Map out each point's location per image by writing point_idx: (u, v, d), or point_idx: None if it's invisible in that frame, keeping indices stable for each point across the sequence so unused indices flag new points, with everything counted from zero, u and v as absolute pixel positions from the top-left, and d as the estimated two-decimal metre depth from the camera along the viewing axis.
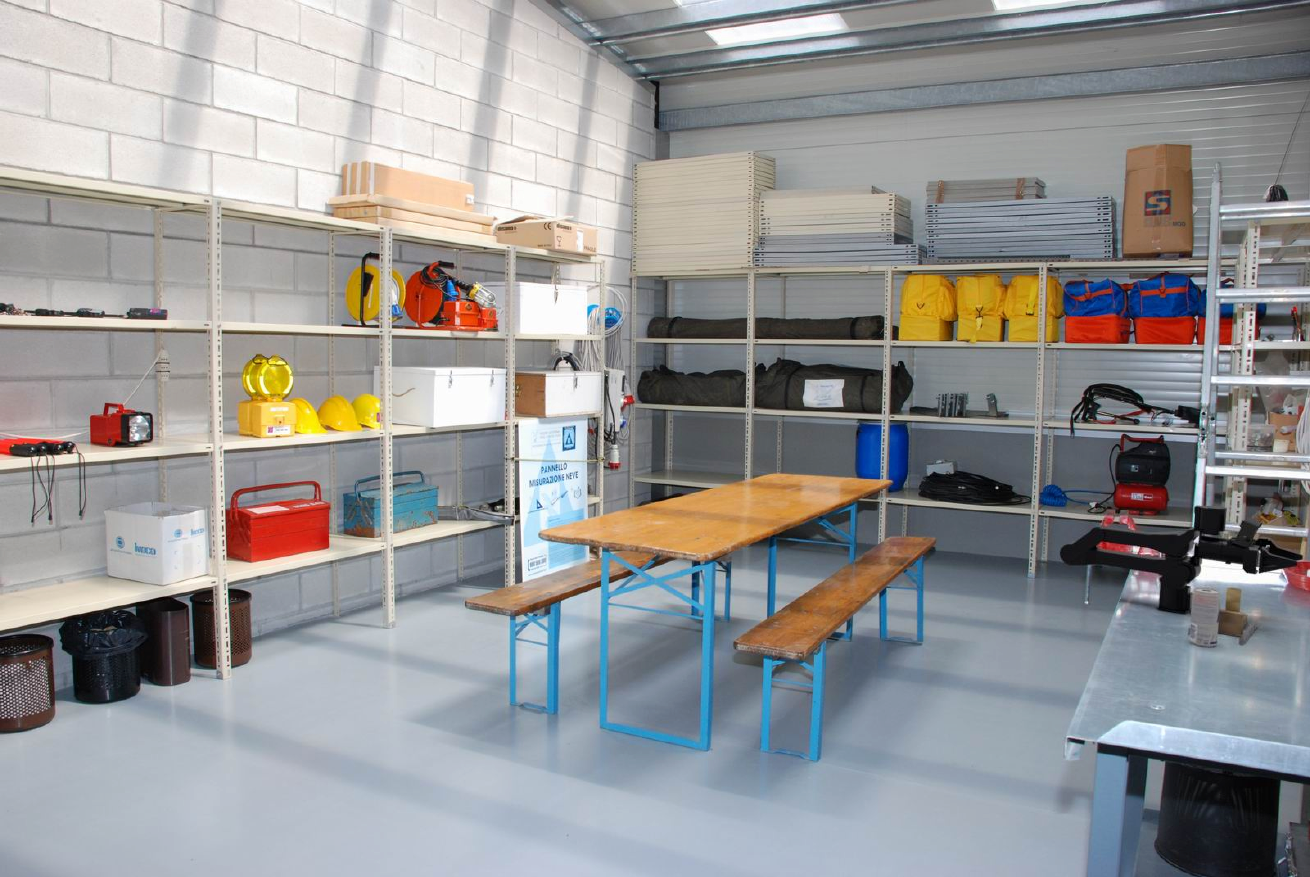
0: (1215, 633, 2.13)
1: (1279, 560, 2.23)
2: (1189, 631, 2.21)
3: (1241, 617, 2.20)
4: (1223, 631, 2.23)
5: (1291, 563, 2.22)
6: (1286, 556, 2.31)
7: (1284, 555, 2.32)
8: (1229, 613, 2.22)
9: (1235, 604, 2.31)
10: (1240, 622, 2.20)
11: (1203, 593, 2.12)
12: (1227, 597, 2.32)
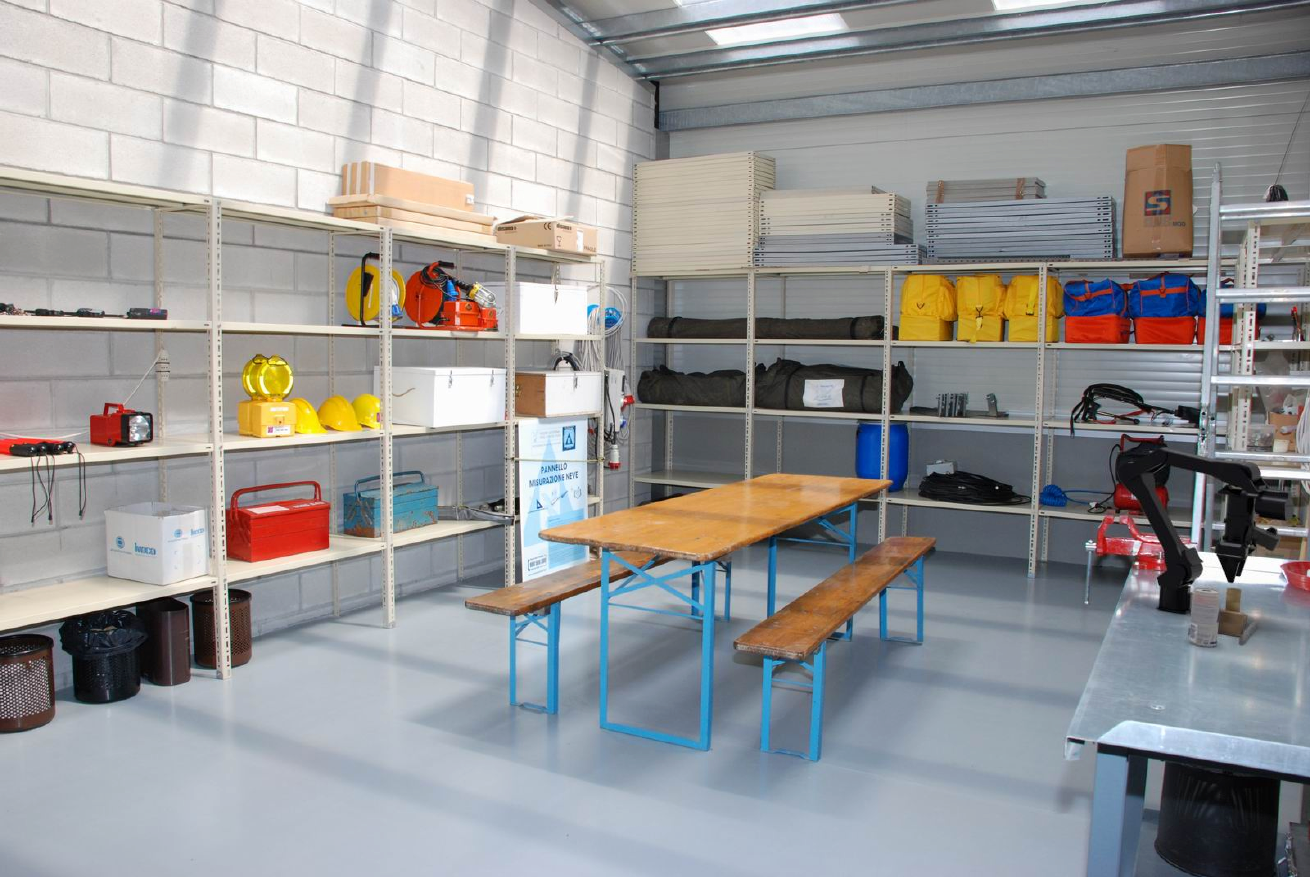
0: (1215, 633, 2.13)
1: (1232, 570, 2.27)
2: (1189, 631, 2.21)
3: (1241, 617, 2.20)
4: (1223, 631, 2.23)
5: (1230, 578, 2.28)
6: None
7: None
8: (1229, 613, 2.22)
9: (1235, 604, 2.31)
10: (1240, 622, 2.20)
11: (1203, 593, 2.12)
12: (1227, 597, 2.32)
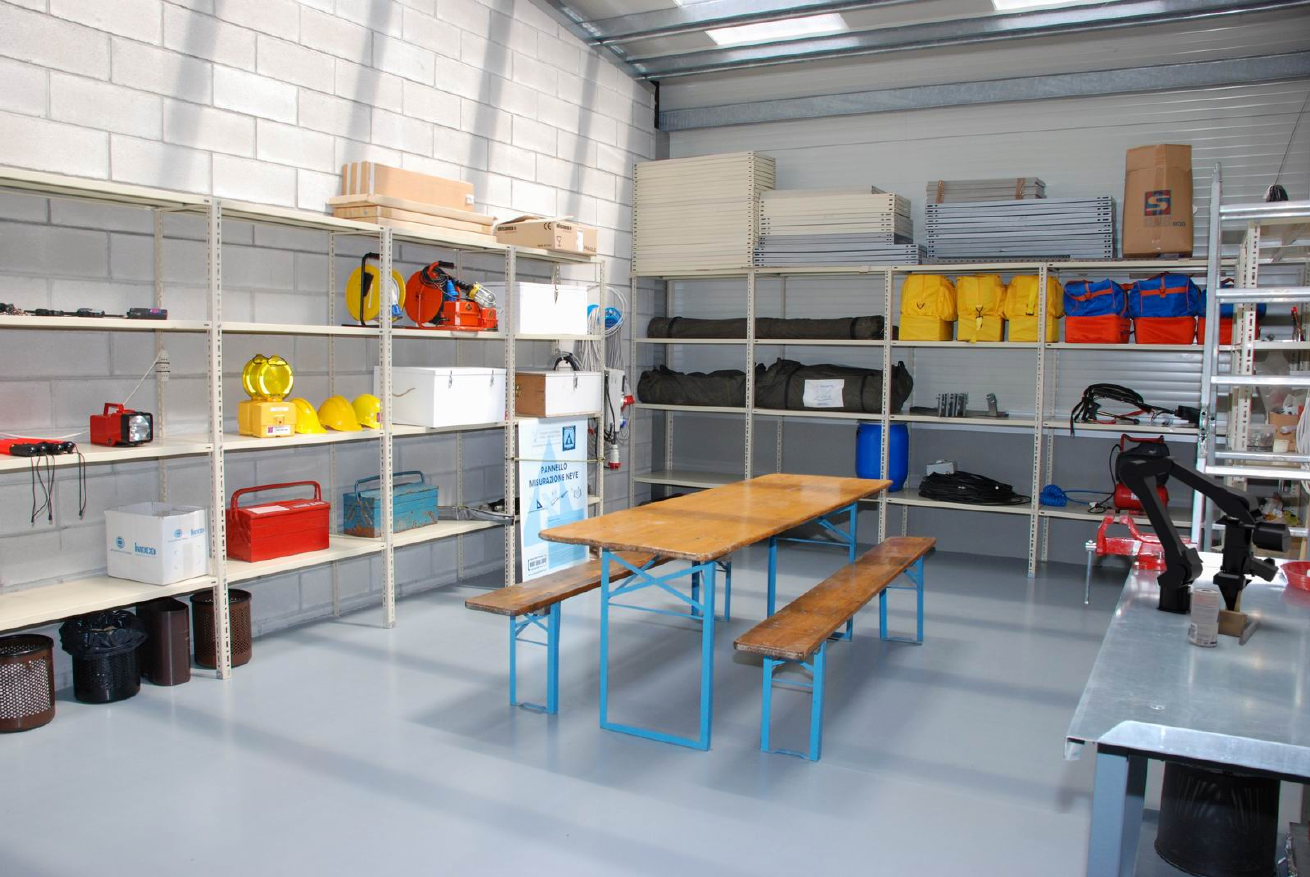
0: (1215, 633, 2.13)
1: (1233, 598, 2.30)
2: (1189, 631, 2.21)
3: (1241, 617, 2.20)
4: (1223, 631, 2.23)
5: (1231, 606, 2.31)
6: None
7: None
8: (1229, 613, 2.22)
9: None
10: (1240, 622, 2.20)
11: (1203, 593, 2.12)
12: None
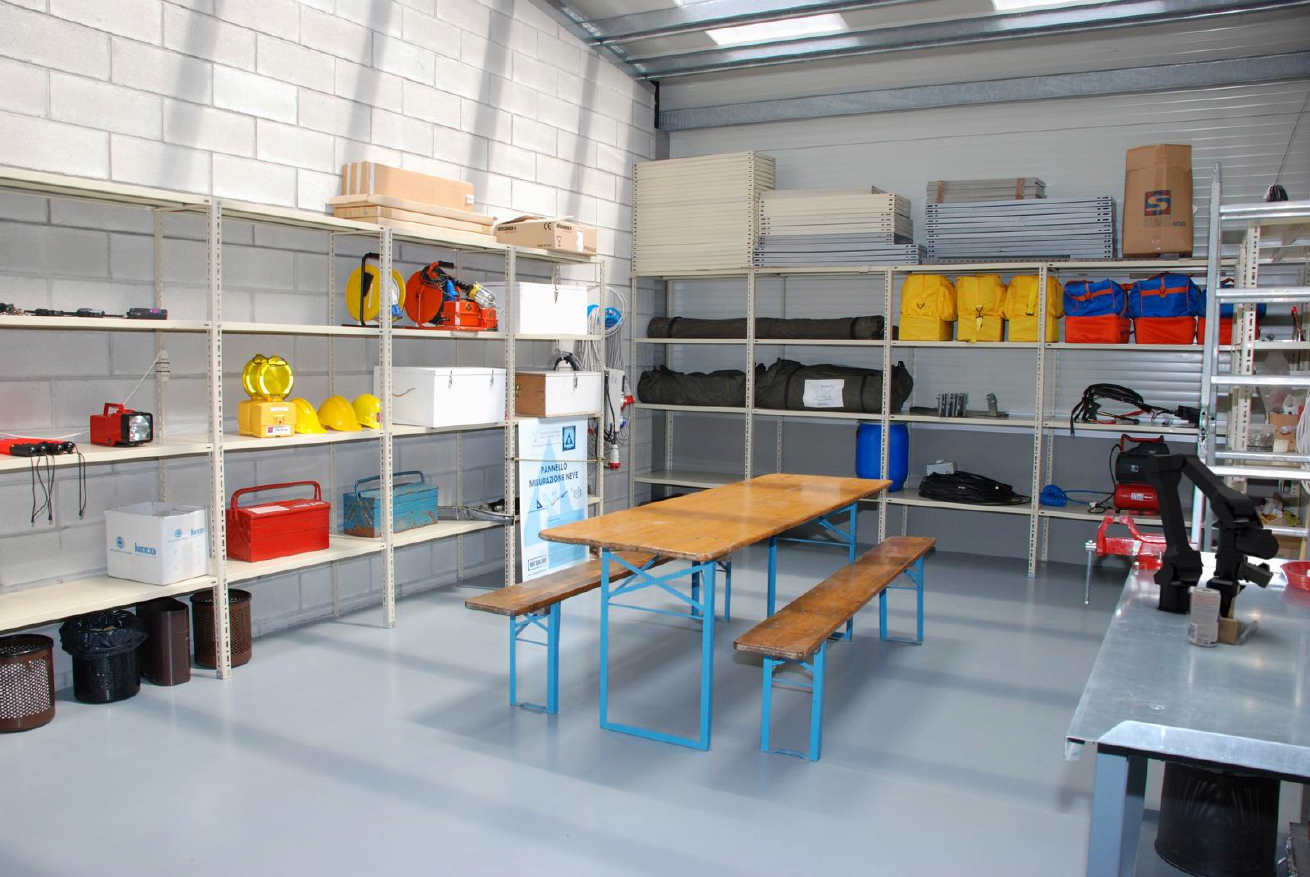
0: (1215, 633, 2.13)
1: (1226, 604, 2.24)
2: (1189, 631, 2.21)
3: (1235, 624, 2.14)
4: None
5: (1224, 613, 2.25)
6: None
7: None
8: (1222, 620, 2.16)
9: (1229, 611, 2.25)
10: (1234, 629, 2.14)
11: (1203, 593, 2.12)
12: None
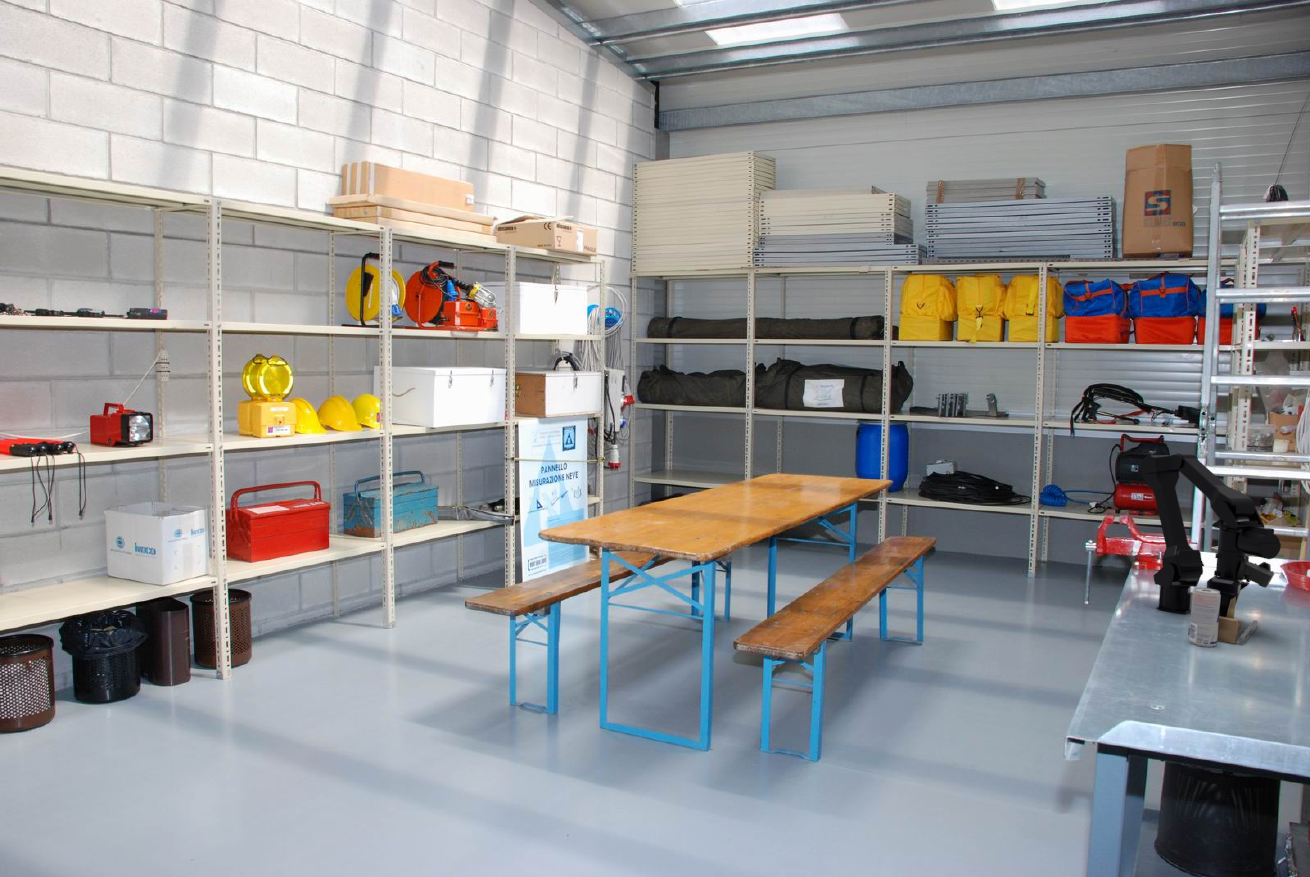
0: (1215, 633, 2.13)
1: (1225, 606, 2.22)
2: (1189, 631, 2.21)
3: (1235, 624, 2.15)
4: (1217, 638, 2.17)
5: (1223, 615, 2.23)
6: None
7: None
8: (1223, 619, 2.16)
9: (1229, 610, 2.26)
10: (1234, 629, 2.15)
11: (1203, 593, 2.12)
12: None
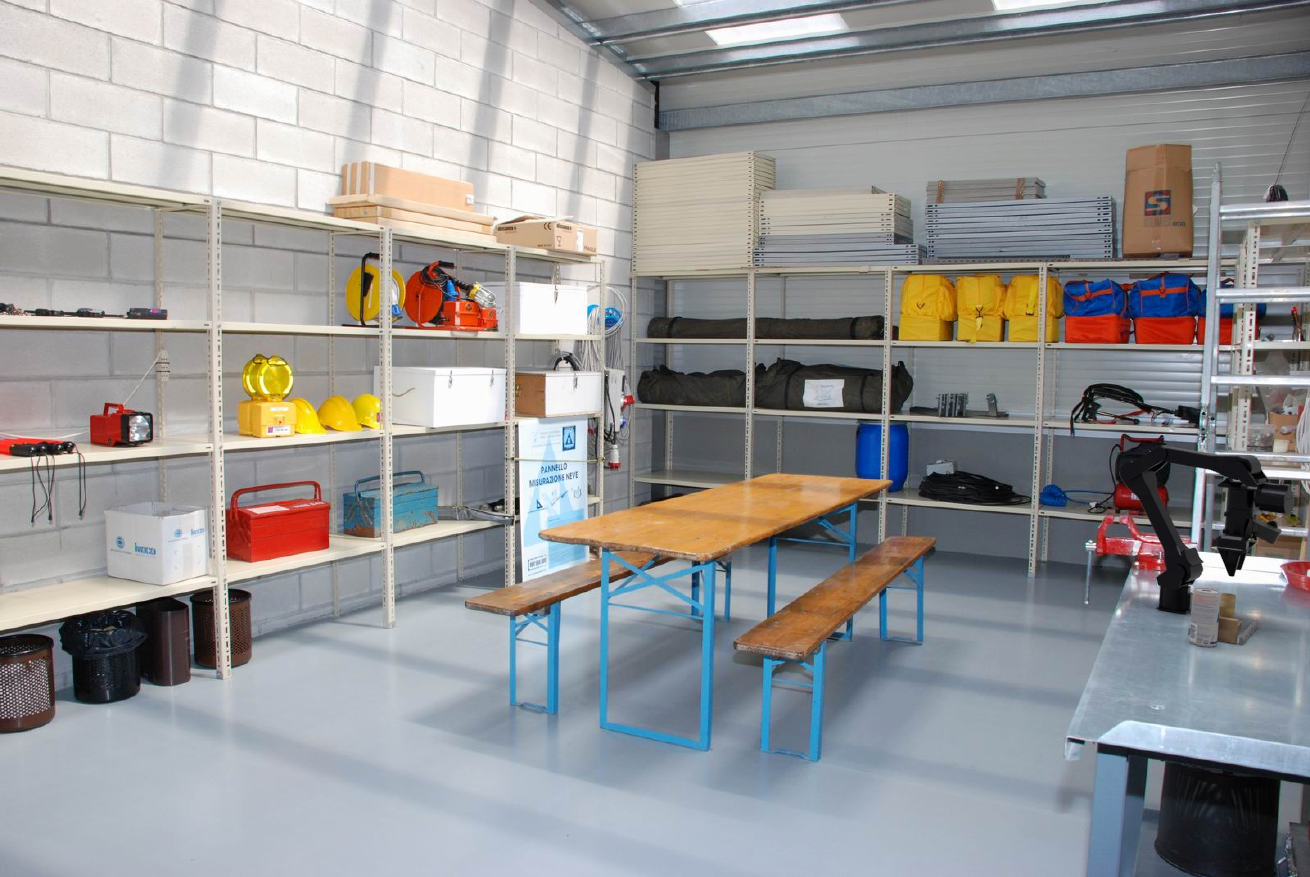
0: (1215, 633, 2.13)
1: (1233, 563, 2.26)
2: (1189, 631, 2.21)
3: (1235, 624, 2.15)
4: (1217, 638, 2.17)
5: (1231, 571, 2.28)
6: None
7: None
8: (1223, 619, 2.16)
9: (1229, 610, 2.26)
10: (1234, 629, 2.15)
11: (1203, 593, 2.12)
12: (1221, 603, 2.27)
